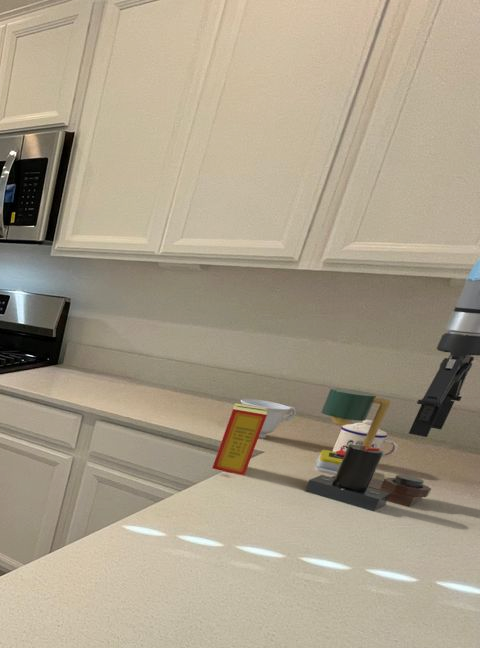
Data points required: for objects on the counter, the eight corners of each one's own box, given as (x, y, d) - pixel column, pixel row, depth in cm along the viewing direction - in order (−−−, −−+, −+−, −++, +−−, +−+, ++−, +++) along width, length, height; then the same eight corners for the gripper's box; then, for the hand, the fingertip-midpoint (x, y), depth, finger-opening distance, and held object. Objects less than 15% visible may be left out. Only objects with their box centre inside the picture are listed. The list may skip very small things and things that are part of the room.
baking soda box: (244, 475, 144) (267, 413, 139) (212, 468, 148) (233, 407, 143) (245, 466, 151) (267, 407, 146) (215, 459, 155) (235, 401, 150)
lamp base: (428, 501, 135) (436, 485, 133) (416, 509, 130) (424, 493, 128) (342, 478, 147) (348, 464, 145) (328, 485, 142) (334, 469, 140)
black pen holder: (349, 490, 130) (366, 451, 126) (326, 480, 135) (342, 442, 132) (373, 491, 130) (391, 452, 127) (349, 482, 135) (366, 444, 132)
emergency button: (369, 453, 154) (371, 465, 144) (363, 468, 156) (363, 481, 145) (323, 443, 160) (321, 455, 150) (316, 458, 162) (314, 470, 151)
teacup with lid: (331, 460, 161) (348, 420, 157) (326, 452, 168) (343, 413, 164) (391, 471, 154) (411, 430, 150) (384, 463, 161) (403, 423, 157)
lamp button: (423, 487, 133) (426, 480, 132) (417, 490, 131) (421, 483, 130) (396, 480, 137) (399, 473, 136) (390, 483, 134) (394, 476, 134)
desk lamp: (374, 471, 141) (407, 399, 134) (363, 476, 137) (397, 402, 130) (309, 455, 151) (337, 386, 144) (297, 459, 147) (325, 389, 140)
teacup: (298, 443, 175) (311, 411, 172) (244, 438, 177) (256, 406, 173) (272, 432, 186) (283, 401, 183) (221, 427, 188) (232, 397, 185)
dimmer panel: (386, 504, 131) (392, 491, 130) (372, 512, 126) (378, 499, 125) (318, 485, 141) (323, 473, 140) (302, 492, 136) (308, 479, 135)
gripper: (486, 339, 112) (436, 443, 119) (507, 334, 125) (462, 429, 132) (430, 333, 118) (386, 433, 125) (456, 330, 131) (415, 420, 138)
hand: (425, 431), depth 129 cm, fingers open, 13 cm apart
